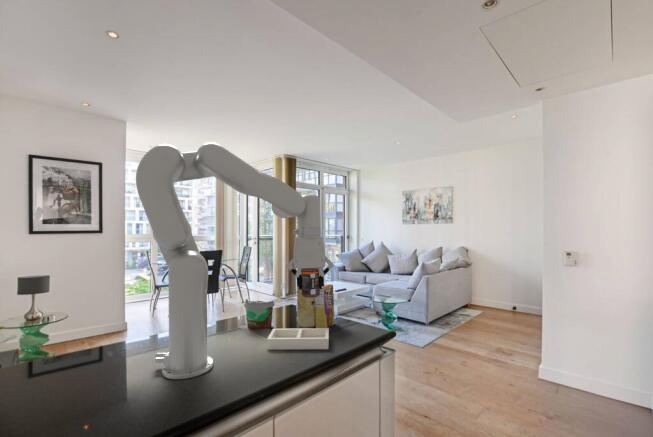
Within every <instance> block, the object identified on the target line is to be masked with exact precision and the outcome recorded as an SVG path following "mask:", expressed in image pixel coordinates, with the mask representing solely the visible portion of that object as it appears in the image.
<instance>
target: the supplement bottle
mask: <svg viewBox="0 0 653 437" xmlns="http://www.w3.org/2000/svg"><path fill="white" fill-rule="evenodd" d="M319 276H320V272H319V270H318V269H302V270H301V292H302V296H303V297H306V298H314V297H318V296H319V295H320V289H319Z"/></svg>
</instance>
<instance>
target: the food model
mask: <svg viewBox="0 0 653 437" xmlns="http://www.w3.org/2000/svg"><path fill="white" fill-rule="evenodd" d="M296 300H297V301H296V302H297V303H296V304H297V308H296V309H297V323H298V324H299V326H300V328H314V327H316V313H315V297H314V298H306V297H303V296H302V292H301V290H299V287H297V286H296Z"/></svg>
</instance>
